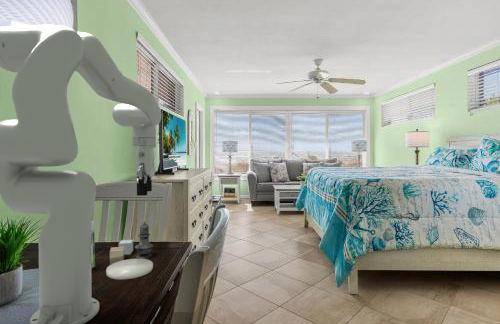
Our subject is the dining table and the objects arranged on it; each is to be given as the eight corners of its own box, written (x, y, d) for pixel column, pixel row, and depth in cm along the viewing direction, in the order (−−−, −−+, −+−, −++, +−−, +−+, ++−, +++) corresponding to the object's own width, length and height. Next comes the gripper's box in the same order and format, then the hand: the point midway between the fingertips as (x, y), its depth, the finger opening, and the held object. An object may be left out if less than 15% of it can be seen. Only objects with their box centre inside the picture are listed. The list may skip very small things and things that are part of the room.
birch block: (123, 262, 94) (123, 250, 94) (109, 263, 93) (109, 251, 93) (124, 258, 98) (124, 246, 98) (110, 259, 97) (110, 247, 97)
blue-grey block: (130, 254, 102) (130, 243, 102) (118, 255, 101) (118, 243, 101) (133, 250, 106) (133, 239, 106) (121, 251, 105) (121, 240, 105)
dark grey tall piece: (147, 259, 97) (147, 224, 96) (131, 258, 97) (131, 223, 97) (156, 253, 102) (156, 220, 102) (140, 252, 103) (140, 219, 103)
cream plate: (149, 277, 83) (149, 273, 82) (100, 280, 80) (100, 276, 80) (155, 261, 95) (155, 257, 95) (113, 263, 93) (113, 259, 93)
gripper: (152, 142, 91) (152, 196, 92) (159, 144, 108) (159, 189, 109) (126, 142, 90) (127, 197, 91) (137, 143, 107) (138, 190, 108)
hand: (144, 193), depth 100 cm, fingers open, 9 cm apart
